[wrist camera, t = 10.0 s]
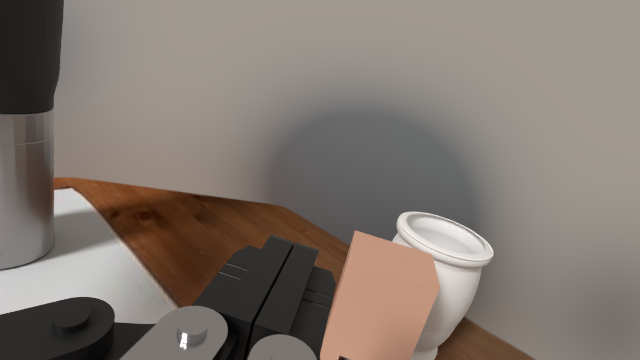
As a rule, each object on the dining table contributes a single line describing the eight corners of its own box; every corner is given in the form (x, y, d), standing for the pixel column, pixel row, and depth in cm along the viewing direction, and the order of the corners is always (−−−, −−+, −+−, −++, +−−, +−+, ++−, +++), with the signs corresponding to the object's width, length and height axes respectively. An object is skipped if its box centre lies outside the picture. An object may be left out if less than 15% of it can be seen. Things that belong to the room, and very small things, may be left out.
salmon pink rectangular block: (381, 429, 29) (440, 287, 25) (304, 400, 30) (348, 257, 25) (382, 380, 34) (432, 254, 29) (316, 357, 35) (355, 230, 30)
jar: (436, 394, 36) (493, 273, 31) (348, 341, 40) (386, 227, 35) (450, 336, 45) (495, 236, 40) (377, 298, 49) (410, 202, 44)
